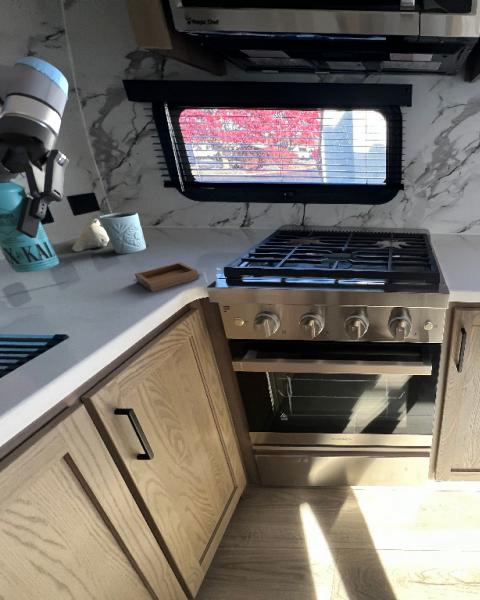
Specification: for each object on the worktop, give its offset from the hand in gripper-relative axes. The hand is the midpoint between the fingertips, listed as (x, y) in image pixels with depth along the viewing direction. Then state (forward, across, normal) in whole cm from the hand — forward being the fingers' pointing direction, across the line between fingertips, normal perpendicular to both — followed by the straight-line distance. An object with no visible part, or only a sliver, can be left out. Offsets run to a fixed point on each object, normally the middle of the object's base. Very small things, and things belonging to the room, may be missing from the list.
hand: (1, 235), depth 56 cm
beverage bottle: (+4, 0, -9) cm, 9 cm away
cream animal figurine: (-34, +31, -62) cm, 77 cm away
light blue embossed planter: (-28, +14, -56) cm, 64 cm away
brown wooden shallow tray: (-4, -10, -31) cm, 33 cm away
